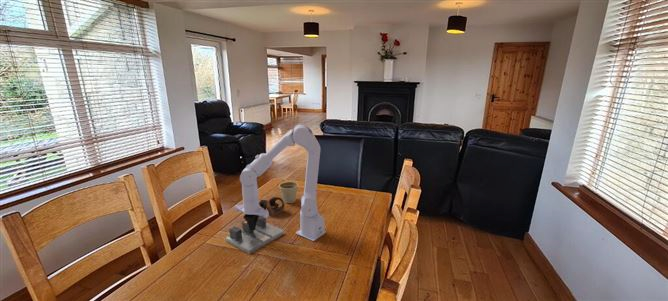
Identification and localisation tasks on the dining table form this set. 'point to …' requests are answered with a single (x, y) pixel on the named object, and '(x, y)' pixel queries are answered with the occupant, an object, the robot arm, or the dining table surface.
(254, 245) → the panel
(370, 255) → the dining table surface
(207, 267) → the dining table surface
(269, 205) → the pottery mug
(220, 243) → the dining table surface
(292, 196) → the flower pot
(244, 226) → the breaker
